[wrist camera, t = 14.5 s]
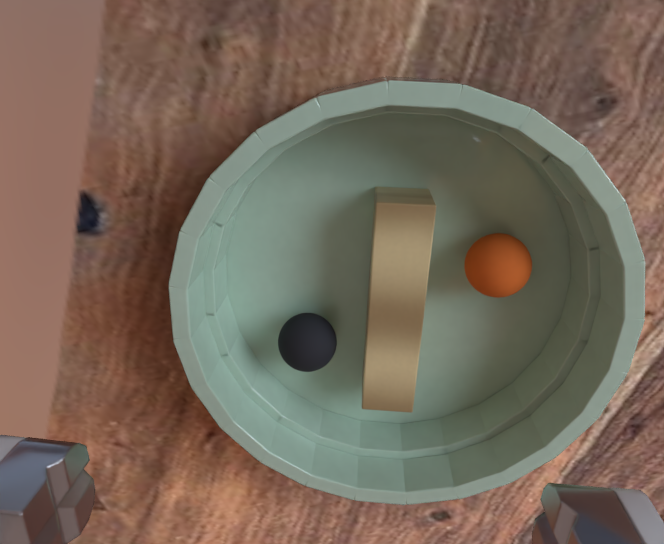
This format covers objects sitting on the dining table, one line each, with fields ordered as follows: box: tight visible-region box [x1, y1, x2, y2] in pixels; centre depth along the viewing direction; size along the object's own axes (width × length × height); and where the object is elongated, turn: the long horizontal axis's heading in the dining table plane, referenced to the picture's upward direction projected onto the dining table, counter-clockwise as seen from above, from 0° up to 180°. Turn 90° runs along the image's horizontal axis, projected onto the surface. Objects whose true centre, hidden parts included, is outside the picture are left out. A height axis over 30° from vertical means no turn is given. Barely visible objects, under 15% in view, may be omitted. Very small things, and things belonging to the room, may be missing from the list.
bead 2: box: [464, 233, 532, 298], centre depth 22 cm, size 3×3×3 cm
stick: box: [362, 187, 437, 413], centre depth 23 cm, size 10×2×3 cm, turn 178°
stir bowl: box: [168, 76, 645, 505], centre depth 23 cm, size 19×19×5 cm
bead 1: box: [278, 313, 337, 372], centre depth 24 cm, size 3×3×3 cm
